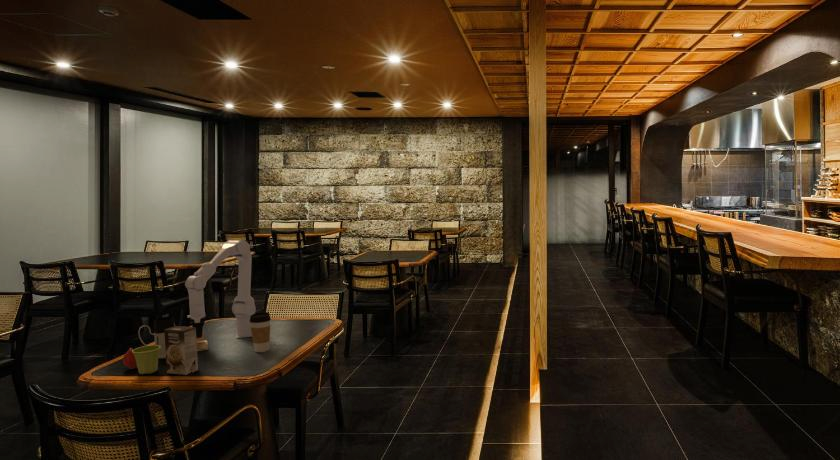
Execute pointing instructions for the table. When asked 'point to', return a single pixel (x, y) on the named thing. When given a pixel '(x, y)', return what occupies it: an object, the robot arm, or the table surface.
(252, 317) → the coffee cup
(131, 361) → the onion
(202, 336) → the painted block
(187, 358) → the coffee box
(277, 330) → the table surface
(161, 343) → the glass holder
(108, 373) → the table surface
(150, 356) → the plant pot
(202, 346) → the birch base
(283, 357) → the table surface
